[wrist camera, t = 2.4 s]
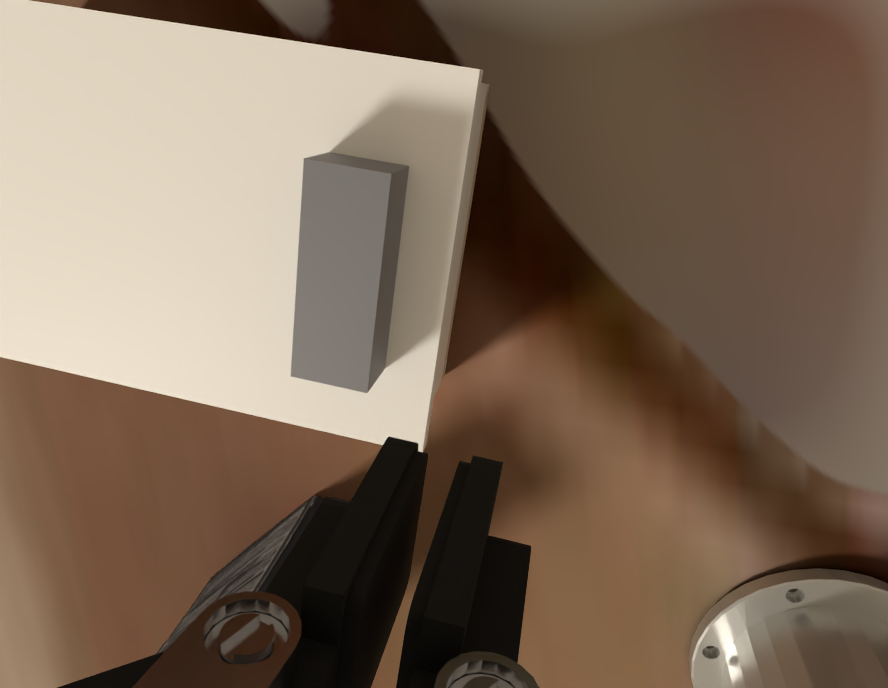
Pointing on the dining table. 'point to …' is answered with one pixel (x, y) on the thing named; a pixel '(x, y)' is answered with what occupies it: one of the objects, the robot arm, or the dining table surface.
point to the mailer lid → (230, 215)
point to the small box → (252, 565)
